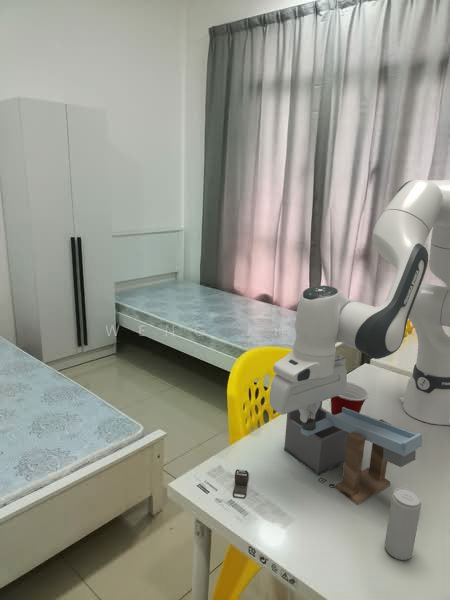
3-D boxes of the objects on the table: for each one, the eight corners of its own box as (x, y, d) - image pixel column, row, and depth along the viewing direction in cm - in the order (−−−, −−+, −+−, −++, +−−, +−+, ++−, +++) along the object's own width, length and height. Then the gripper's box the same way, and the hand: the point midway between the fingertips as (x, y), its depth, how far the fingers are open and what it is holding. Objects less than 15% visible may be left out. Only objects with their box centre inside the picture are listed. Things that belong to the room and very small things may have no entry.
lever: (341, 427, 103) (341, 404, 102) (421, 460, 86) (422, 433, 85) (299, 444, 95) (299, 420, 94) (378, 485, 78) (378, 456, 78)
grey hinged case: (236, 473, 99) (237, 457, 98) (249, 475, 99) (250, 459, 98) (231, 498, 91) (232, 481, 90) (245, 500, 91) (246, 483, 90)
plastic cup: (366, 440, 113) (371, 400, 110) (324, 435, 115) (329, 395, 112) (361, 420, 124) (366, 382, 121) (323, 415, 126) (327, 377, 123)
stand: (367, 470, 101) (375, 416, 98) (389, 485, 96) (398, 428, 93) (335, 488, 95) (342, 430, 91) (357, 504, 90) (365, 444, 86)
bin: (316, 436, 115) (321, 382, 110) (350, 459, 105) (358, 400, 101) (284, 450, 108) (288, 392, 104) (317, 475, 99) (324, 413, 95)
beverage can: (389, 536, 82) (398, 483, 79) (415, 550, 79) (425, 495, 76) (380, 552, 78) (389, 496, 75) (407, 566, 76) (417, 510, 72)
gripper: (335, 348, 99) (329, 402, 102) (267, 365, 88) (263, 425, 91) (357, 357, 94) (349, 414, 97) (288, 377, 83) (282, 440, 86)
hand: (307, 419), depth 94 cm, fingers closed, pressing on lever
